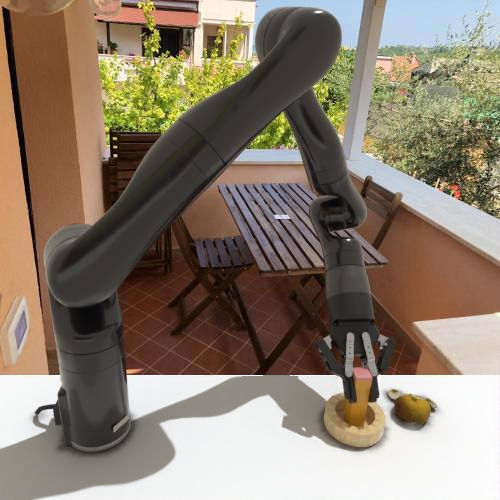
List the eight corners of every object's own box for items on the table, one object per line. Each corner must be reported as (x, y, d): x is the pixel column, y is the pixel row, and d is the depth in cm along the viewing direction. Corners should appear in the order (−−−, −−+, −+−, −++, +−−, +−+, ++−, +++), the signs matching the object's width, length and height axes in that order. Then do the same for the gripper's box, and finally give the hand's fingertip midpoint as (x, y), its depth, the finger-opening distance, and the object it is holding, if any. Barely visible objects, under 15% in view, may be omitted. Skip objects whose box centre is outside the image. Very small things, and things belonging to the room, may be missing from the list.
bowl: (333, 448, 66) (334, 435, 65) (317, 405, 75) (319, 393, 74) (392, 445, 67) (395, 433, 66) (370, 403, 76) (372, 391, 75)
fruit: (435, 402, 77) (439, 385, 76) (437, 434, 70) (441, 417, 68) (387, 389, 80) (391, 373, 78) (384, 420, 72) (387, 402, 71)
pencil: (348, 427, 70) (356, 378, 66) (343, 416, 72) (351, 367, 68) (363, 427, 70) (372, 377, 66) (358, 415, 72) (366, 367, 69)
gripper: (314, 290, 69) (325, 402, 63) (396, 289, 71) (416, 399, 64) (304, 303, 76) (313, 405, 69) (379, 302, 78) (395, 402, 71)
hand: (362, 402), depth 67 cm, fingers closed on pencil, 2 cm apart
